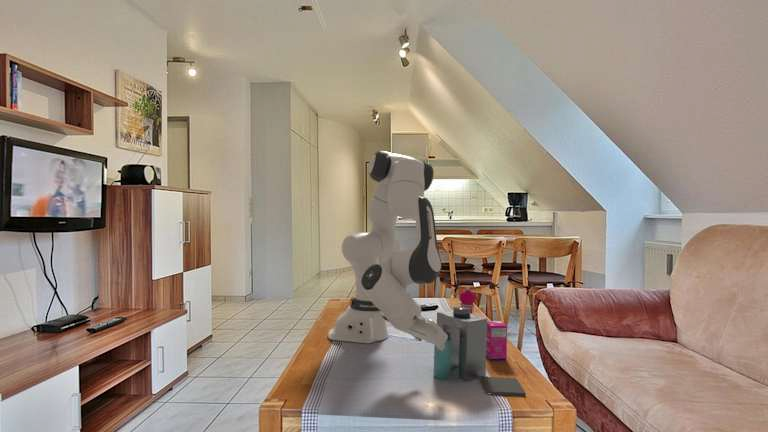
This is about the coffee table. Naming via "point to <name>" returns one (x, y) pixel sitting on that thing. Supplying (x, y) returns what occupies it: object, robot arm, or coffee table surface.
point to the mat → (503, 386)
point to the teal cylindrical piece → (443, 360)
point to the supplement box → (496, 340)
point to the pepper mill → (467, 298)
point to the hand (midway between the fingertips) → (431, 343)
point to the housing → (466, 341)
